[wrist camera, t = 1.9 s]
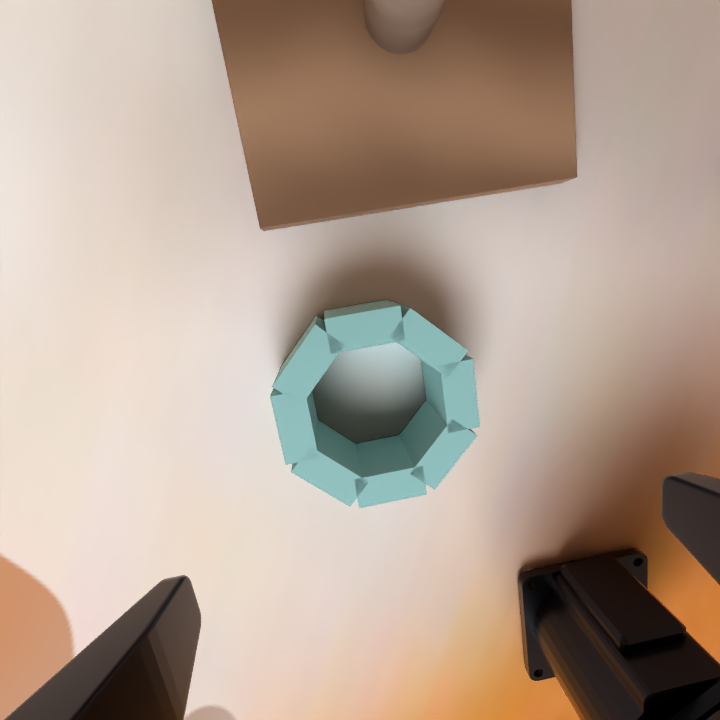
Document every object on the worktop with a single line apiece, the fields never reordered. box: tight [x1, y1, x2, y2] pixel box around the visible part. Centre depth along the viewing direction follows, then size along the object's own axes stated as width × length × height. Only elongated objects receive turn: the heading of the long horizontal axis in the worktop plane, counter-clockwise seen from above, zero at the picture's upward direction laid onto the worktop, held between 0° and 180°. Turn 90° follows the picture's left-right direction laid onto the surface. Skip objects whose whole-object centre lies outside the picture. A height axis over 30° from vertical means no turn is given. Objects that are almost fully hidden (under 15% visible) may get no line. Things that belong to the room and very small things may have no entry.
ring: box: [270, 300, 480, 508], centre depth 15 cm, size 7×7×3 cm
